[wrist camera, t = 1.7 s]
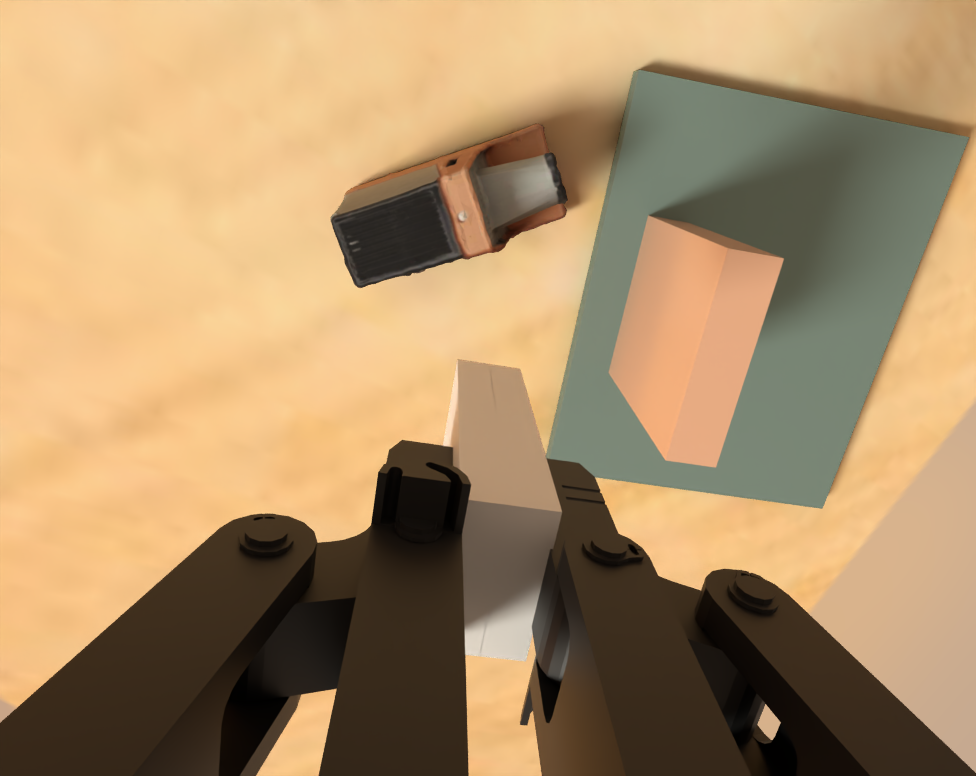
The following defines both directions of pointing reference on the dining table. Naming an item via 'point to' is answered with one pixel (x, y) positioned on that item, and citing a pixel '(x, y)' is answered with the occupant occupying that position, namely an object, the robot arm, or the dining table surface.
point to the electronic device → (449, 207)
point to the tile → (690, 335)
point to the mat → (799, 288)
